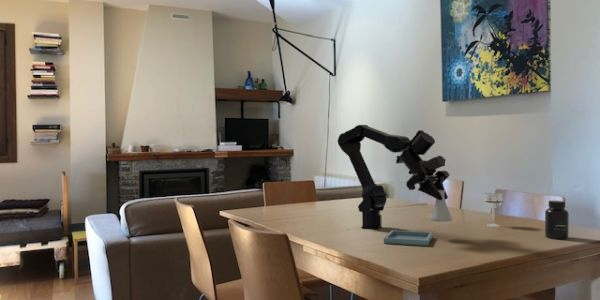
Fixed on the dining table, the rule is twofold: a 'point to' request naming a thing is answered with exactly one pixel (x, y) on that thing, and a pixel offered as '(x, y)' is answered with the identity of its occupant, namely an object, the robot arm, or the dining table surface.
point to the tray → (408, 238)
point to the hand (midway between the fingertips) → (444, 199)
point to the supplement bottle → (556, 220)
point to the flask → (440, 210)
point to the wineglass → (493, 203)
